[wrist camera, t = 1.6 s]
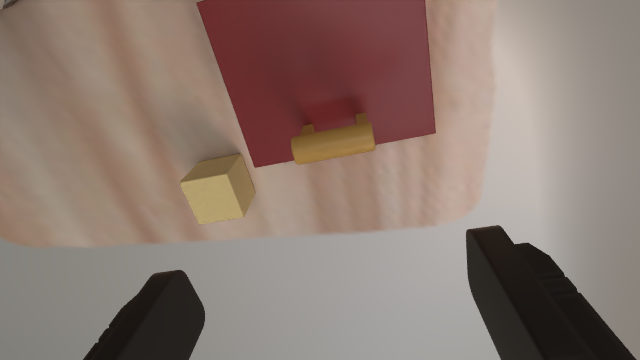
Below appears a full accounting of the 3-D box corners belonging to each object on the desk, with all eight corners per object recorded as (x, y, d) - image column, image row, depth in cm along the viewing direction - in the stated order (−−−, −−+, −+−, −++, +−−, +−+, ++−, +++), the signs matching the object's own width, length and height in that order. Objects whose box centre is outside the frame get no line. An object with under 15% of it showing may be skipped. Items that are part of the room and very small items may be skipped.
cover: (433, 130, 22) (456, 161, 17) (256, 164, 24) (236, 199, 20) (417, -60, 17) (442, -85, 13) (200, 2, 19) (156, 0, 15)
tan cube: (215, 200, 32) (198, 224, 28) (199, 161, 30) (178, 182, 27) (255, 193, 31) (243, 217, 28) (241, 153, 30) (226, 173, 26)
